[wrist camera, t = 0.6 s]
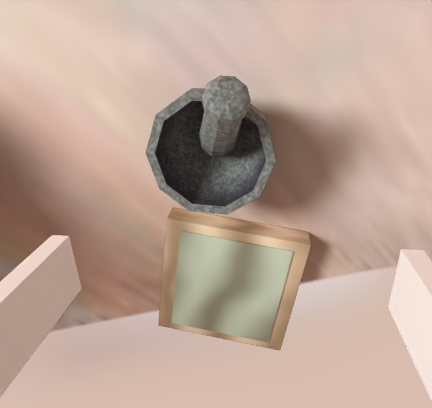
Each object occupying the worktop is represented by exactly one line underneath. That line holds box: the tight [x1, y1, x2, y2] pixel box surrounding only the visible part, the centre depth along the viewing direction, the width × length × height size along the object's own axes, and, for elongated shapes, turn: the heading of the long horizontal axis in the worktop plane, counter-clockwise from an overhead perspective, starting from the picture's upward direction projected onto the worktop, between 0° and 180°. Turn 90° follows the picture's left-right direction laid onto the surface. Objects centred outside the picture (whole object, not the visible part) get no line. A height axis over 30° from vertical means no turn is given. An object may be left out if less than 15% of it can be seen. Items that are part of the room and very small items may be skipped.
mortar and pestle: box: [146, 76, 276, 214], centre depth 26 cm, size 11×9×12 cm
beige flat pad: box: [158, 208, 311, 350], centre depth 37 cm, size 14×14×3 cm
